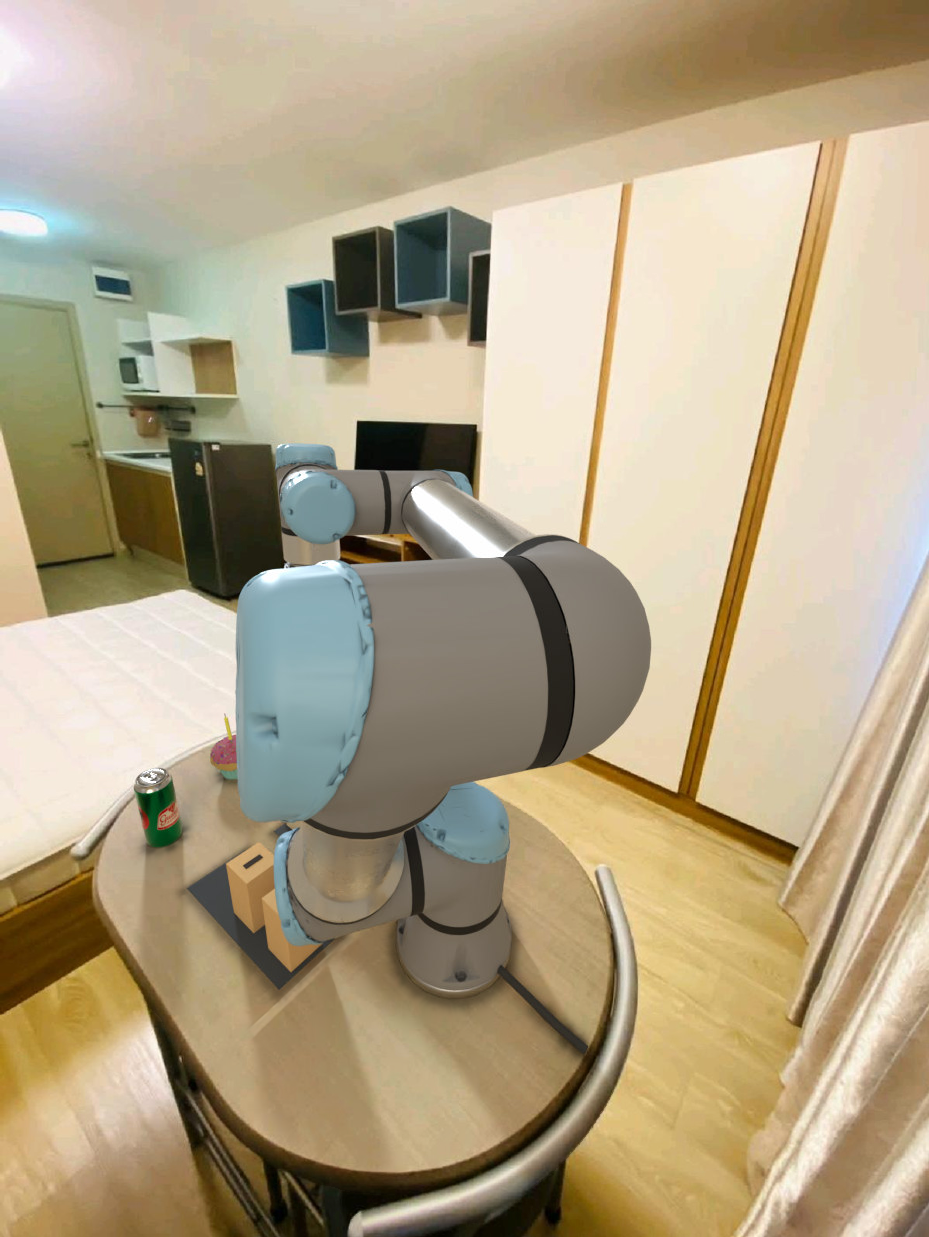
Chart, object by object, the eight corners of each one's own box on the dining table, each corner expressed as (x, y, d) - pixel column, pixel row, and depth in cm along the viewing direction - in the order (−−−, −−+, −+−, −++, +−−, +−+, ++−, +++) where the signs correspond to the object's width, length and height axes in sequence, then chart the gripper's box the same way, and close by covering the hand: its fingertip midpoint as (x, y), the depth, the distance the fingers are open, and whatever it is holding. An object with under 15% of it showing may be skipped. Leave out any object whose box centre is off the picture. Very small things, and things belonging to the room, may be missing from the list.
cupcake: (204, 773, 97) (194, 718, 92) (246, 752, 103) (239, 699, 99) (229, 794, 92) (220, 737, 88) (271, 770, 99) (265, 716, 94)
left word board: (338, 937, 69) (335, 884, 65) (279, 991, 62) (272, 937, 58) (245, 851, 81) (238, 803, 77) (187, 889, 74) (176, 839, 70)
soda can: (167, 853, 80) (154, 790, 75) (139, 846, 81) (123, 784, 76) (190, 829, 84) (178, 769, 80) (162, 823, 85) (149, 763, 81)
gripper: (360, 542, 83) (363, 660, 91) (210, 574, 64) (231, 721, 72) (394, 550, 79) (394, 674, 87) (246, 588, 60) (263, 741, 68)
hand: (320, 695), depth 80 cm, fingers open, 13 cm apart
